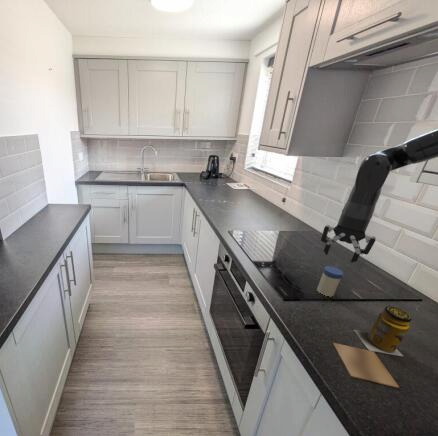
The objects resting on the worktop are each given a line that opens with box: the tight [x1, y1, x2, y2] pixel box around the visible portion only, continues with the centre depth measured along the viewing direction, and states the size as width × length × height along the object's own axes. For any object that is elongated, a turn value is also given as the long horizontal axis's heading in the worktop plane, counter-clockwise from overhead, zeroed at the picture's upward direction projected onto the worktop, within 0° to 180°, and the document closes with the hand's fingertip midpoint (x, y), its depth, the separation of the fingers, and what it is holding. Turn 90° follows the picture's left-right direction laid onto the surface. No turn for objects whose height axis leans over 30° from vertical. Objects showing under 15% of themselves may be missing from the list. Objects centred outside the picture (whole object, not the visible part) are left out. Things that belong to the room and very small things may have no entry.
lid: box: [322, 265, 344, 280], centre depth 85 cm, size 6×6×2 cm
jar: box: [316, 272, 342, 298], centre depth 87 cm, size 5×5×10 cm
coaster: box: [332, 342, 400, 389], centre depth 61 cm, size 10×10×1 cm
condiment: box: [353, 305, 412, 357], centre depth 66 cm, size 7×8×12 cm
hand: (338, 257), depth 83 cm, fingers open, 7 cm apart
